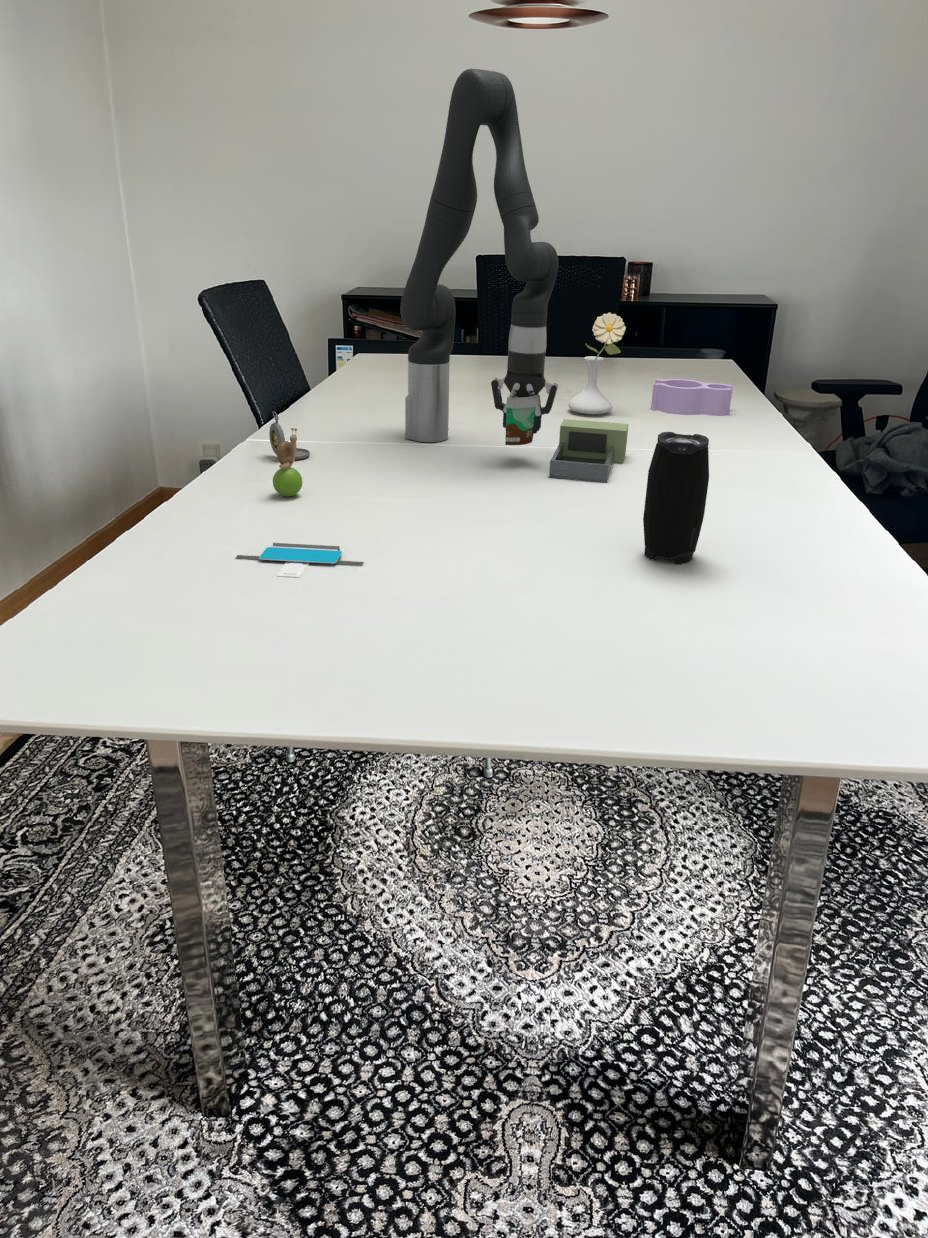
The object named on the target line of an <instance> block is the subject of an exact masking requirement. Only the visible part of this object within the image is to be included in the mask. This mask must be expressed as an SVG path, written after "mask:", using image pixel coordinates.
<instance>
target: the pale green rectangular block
mask: <svg viewBox="0 0 928 1238" xmlns="http://www.w3.org/2000/svg"><path fill="white" fill-rule="evenodd" d="M628 432H629V423H621V422H620V423H619V422H605V421H595V420H582V419H581V420H580V419H569V418H563V420H562V422H561V424H560V425H559V438H558V440H559V441H558V444H559V443H560V442H564V447H563V456H568V457H580V458H592V459H604V460H606V459H607V456H608V453H609V450H610V447H611V446H615V447H614V457H613V464H615V463H616V464H624V462H625V459H626V453H627V445H628Z"/></svg>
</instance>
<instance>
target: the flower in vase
mask: <svg viewBox="0 0 928 1238" xmlns="http://www.w3.org/2000/svg"><path fill="white" fill-rule="evenodd" d="M626 328H627V326H625V322H624V321H623V318H621V316H619V315H617V314H616V313H612V312H607V313H603V314H602V315H600V316H597V317H596V320H595V321H594V324H593V325H592V329H591V330H592V331H591V332H593V335H594V337H595V340H596V341H598V342H600V343H604V346H603V347H602V348H601V350H600V351H598V350H597V349H596V348H595V347H591V346H590V345H588V344H587V343H586V342H585V346H586V347H587V348H588V349H589V350H591V351H593V352H595V353H597V355H596V356H591V355H590V356H589V355H588V356H585V357H583V358H584V361H585V363H586V365H587V372H588V373H587V374H588V375H587V376H588V377H587V384H586V386H585V388H584V389H583V390H582V391H580V392H579V393H578V394H576V395H575V396H574V397H573V398H571V400H569V402H568V405H567V406H568V408H569V409H570V410H571V411H573V412H576V413H578V414H584V415H599V414H600V415H602V414H607V413H608V412H611V410H612V409H613V408H614V406H613V404H612V402H611V401H610V400H609V399H608V397H606V396H605V395H604V394H603V393H602V391H600V389H598V373H599V369H600V366H601V364H602V363H603V361H604V360H605V358H604V357H601V356H600V354H601V353H602V352H603V351H604V350H605V352H606V353H607V354H608V355H610V356H611V355H617V354H620V353H621V352H622V351H621V350H620V348H619V347H618V346H616V345H615V344H614V343H618V342H619V341H621V340H623V336H624V334H625V332H626Z"/></svg>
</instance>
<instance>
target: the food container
mask: <svg viewBox="0 0 928 1238" xmlns="http://www.w3.org/2000/svg"><path fill="white" fill-rule="evenodd" d="M539 393H540V392H539ZM539 393H538V394H537V395H535V396H531V397H518V396H516V397H509V396H507V397H506V402H507V404H506V403H505V404H506V408H507V413H506V428H505V443H504V445H505V446H524V445H528V444H529V445H530V444H532V443H533V440H534V439H533V438H534V433H533V425H534V418H535V409H536V406H538V405H540V404H541V405H542V401H541V395H540V394H539Z"/></svg>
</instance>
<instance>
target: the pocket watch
mask: <svg viewBox="0 0 928 1238" xmlns="http://www.w3.org/2000/svg"><path fill="white" fill-rule="evenodd" d="M272 416H273V417H274V420H275V422H273V423H271V425H270V426H269V433H268V434H269V435H268V437H269V443H270V446H271V449H272V451H273V453H274V454H275V455H276V456H277V450H278V447H279V445H280V443H281V442H283V441H286V437H285V433H284V430H283V428H282V426H281V424H279V416H278V413H277V412H276V411H272ZM310 455H311V451H310V450H309V449H307V448H301V447H299V448H297V447H296V456H295V460H301V459H306V458H308V457H309V456H310ZM295 460H294V461H295Z"/></svg>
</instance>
